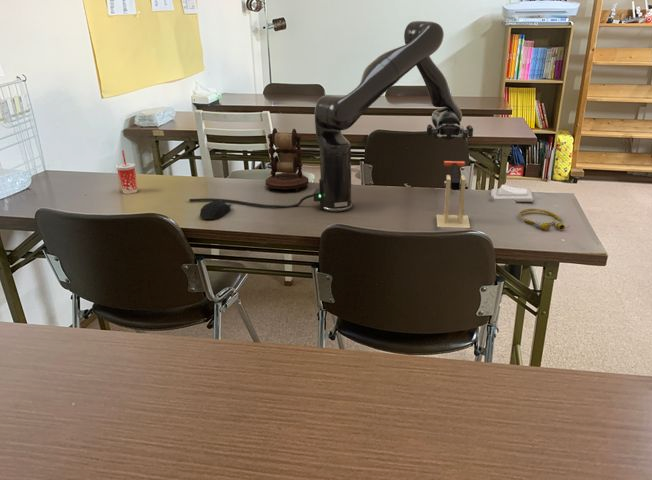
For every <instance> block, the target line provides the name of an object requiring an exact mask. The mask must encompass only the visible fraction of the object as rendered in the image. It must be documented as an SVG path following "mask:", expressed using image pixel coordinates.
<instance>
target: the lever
mask: <svg viewBox="0 0 652 480" xmlns="http://www.w3.org/2000/svg"><path fill="white" fill-rule="evenodd" d="M443 166H444V167H452V168H451V169H452V176H451V184H450V191H460V183H461V176H460V177H459V176H458V167H466V161H465V160H443Z"/></svg>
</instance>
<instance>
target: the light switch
mask: <svg viewBox="0 0 652 480" xmlns="http://www.w3.org/2000/svg"><path fill="white" fill-rule="evenodd" d="M490 196H491V197H493V199H498V200H499V199H500V200H501V199H502V200H514V202H518V203H519V202H529V203H530V202H531V203H532V202H534V196H533V193H532V189H531V188H530V187H529V188H525V187H524V188H522V187H511V186H509V185H507V184H500V187H499V188H491V190H490Z"/></svg>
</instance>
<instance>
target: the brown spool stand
mask: <svg viewBox="0 0 652 480" xmlns="http://www.w3.org/2000/svg"><path fill="white" fill-rule="evenodd" d="M267 139H268V143H269V144H268V150H267V151H268V154H269V155H270V157H269V161H270V162H269V166H270V169H271V170H270V176H269V177H267V178H266V179H265V180H264V181H265V182H264V183H265V186H266V187H267V188H268V190H269V191H272V189H276V190H293V189H294V190H295V192H299V189H300V188H303V187H305V186H307V185H308V184H309V182H310V181H309V178H308V177H307V176H305V175H304V174H303V171H302V170H303V168H302V167H303V162H302V155H303V150H302V148H301V147H302V144H301V139H302V136H301V135H300V134H298V133H297V130H296V128H292V131H291V132H290V133H289V132H288V133H287V132H286V133H285V132H278V130H277V128H276V127H274V128H273V129H272V131H271V133H269V134H268V135H267ZM274 147H275V148H274ZM275 153H276V154H278V155H279V156H278V155H275ZM274 155H275V156H274Z"/></svg>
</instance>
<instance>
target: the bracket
mask: <svg viewBox="0 0 652 480" xmlns="http://www.w3.org/2000/svg"><path fill="white" fill-rule="evenodd" d="M445 176H446V177H445V180H444V181H443V182H444V187H445V190H444V191H445V194H444V207H443V208H444V210H443V214H436V227H437V228H456V229H471V224H470V220H469V215H466V214H465V215H464V208H465V197H466V195H465V193H466V188H467V186H468V181H467V180H466V175H460V189H459V198H458V211H457V214H449V212H450V196H451V180H452V177H451V175H450V174H446V175H445Z"/></svg>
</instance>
